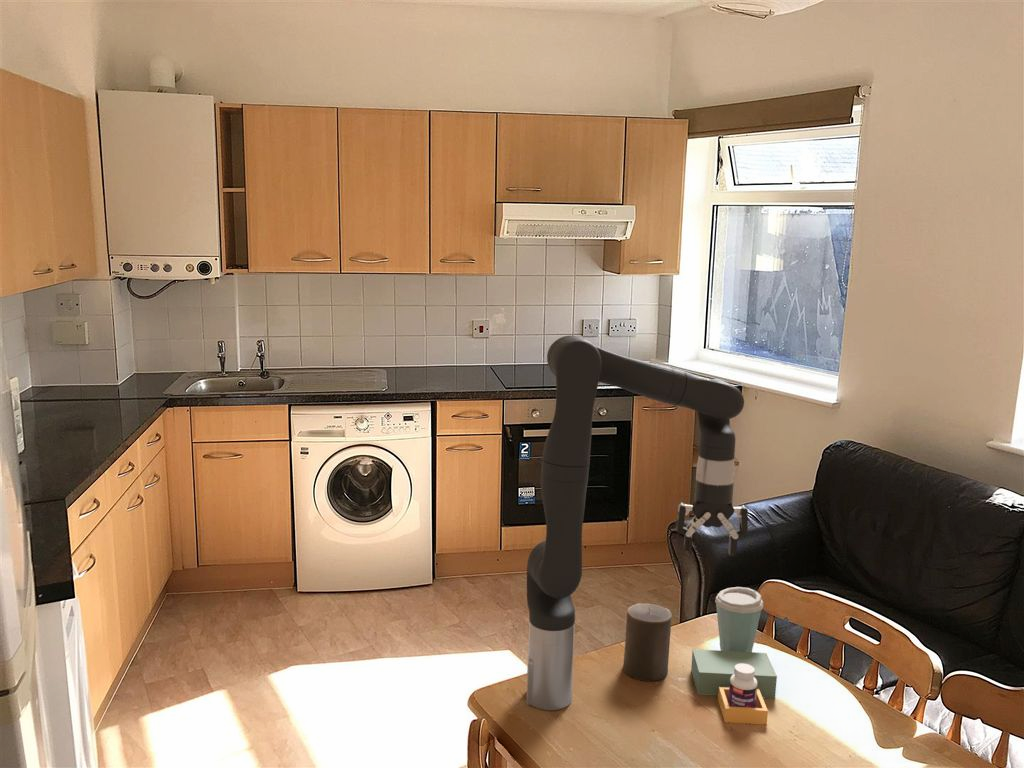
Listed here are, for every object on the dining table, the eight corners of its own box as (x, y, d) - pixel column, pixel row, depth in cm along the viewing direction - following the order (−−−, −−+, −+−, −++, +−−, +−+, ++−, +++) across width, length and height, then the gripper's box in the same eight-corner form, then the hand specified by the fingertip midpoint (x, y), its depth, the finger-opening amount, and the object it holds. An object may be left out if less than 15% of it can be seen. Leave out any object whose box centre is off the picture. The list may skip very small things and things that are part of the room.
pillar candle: (641, 685, 188) (646, 620, 185) (614, 665, 197) (618, 602, 194) (677, 675, 193) (682, 611, 190) (648, 655, 201) (653, 594, 199)
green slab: (704, 721, 176) (706, 698, 175) (691, 670, 195) (692, 649, 194) (786, 725, 175) (788, 702, 174) (764, 674, 194) (766, 653, 193)
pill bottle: (727, 717, 177) (731, 673, 175) (727, 703, 182) (730, 659, 180) (755, 721, 176) (759, 676, 174) (754, 706, 181) (757, 663, 179)
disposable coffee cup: (729, 670, 196) (733, 607, 193) (701, 648, 205) (706, 587, 203) (768, 662, 199) (774, 600, 197) (740, 641, 209) (744, 581, 206)
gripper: (746, 474, 183) (741, 548, 186) (677, 471, 184) (672, 545, 187) (754, 485, 175) (748, 562, 179) (681, 482, 176) (677, 558, 179)
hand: (709, 553), depth 183 cm, fingers open, 8 cm apart
